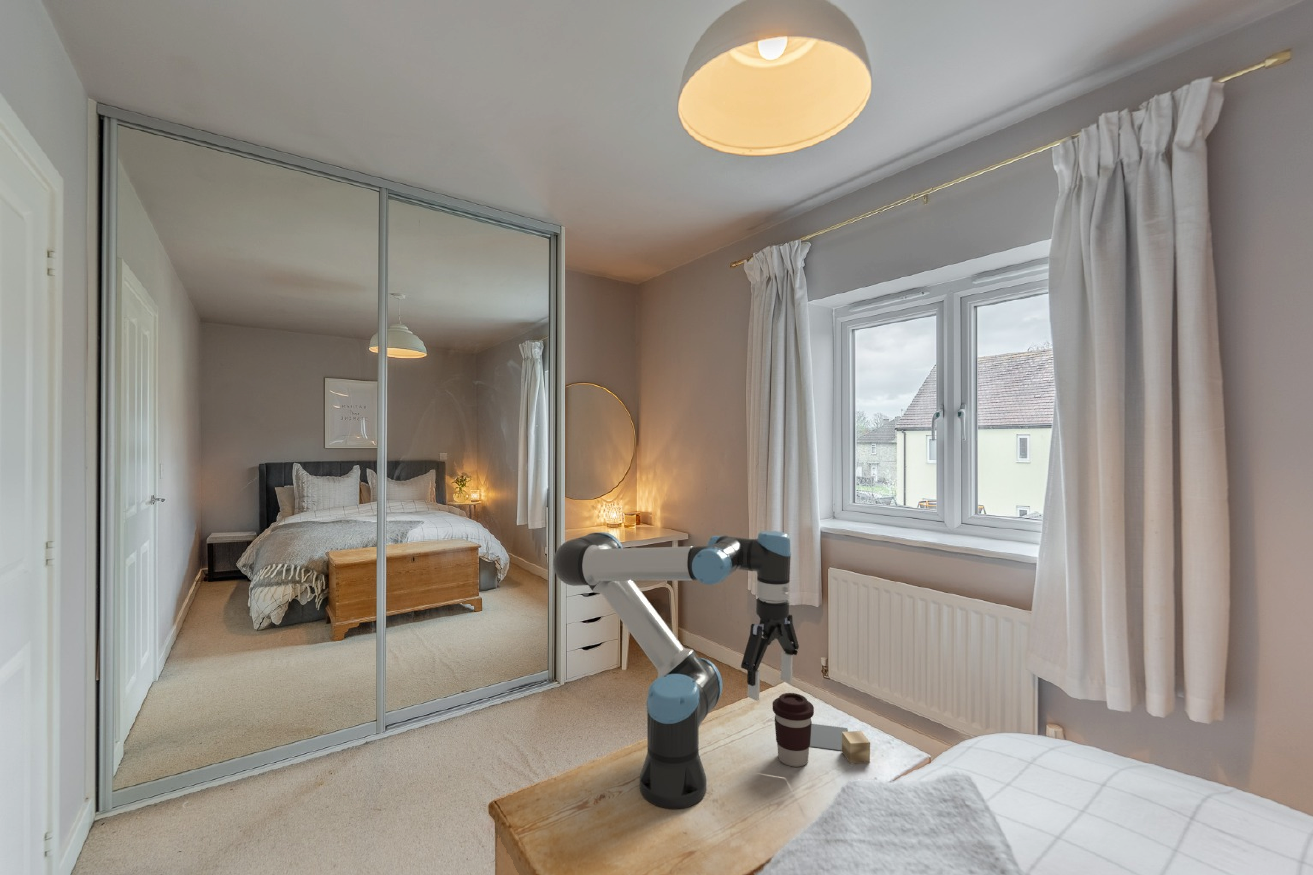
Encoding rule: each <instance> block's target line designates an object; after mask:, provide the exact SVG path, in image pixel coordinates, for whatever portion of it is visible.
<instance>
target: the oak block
mask: <svg viewBox="0 0 1313 875" xmlns="http://www.w3.org/2000/svg"><path fill="white" fill-rule="evenodd" d="M841 753H842V754H843V755H844V757H845V759H846V760H847V761H848V763H849V764H862V763H865V764H866V763H871V741H870V740H869V739H868V738H867V737H866V735H865V734H864V732H863V731H862V730H855V731H853V730H852V731H850V730H849V731H848V732H842V751H841Z"/></svg>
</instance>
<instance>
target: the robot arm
mask: <svg viewBox="0 0 1313 875" xmlns="http://www.w3.org/2000/svg"><path fill="white" fill-rule="evenodd" d="M791 555H792V552H791V537H790V536H789V535H788V534H787V533H786V532H782V531H776V530H773V531H772V530H771V531H770V530H764V531H760V532H759V533H758V534H757V538H746V537H738V536H737V537H736V536H728V535H726V534H725V535H713V536H711V537H710V538H709V540H708V542H707V545H701V546H665V547H664V546H663V547H659V546H658V547H634V548H633V547H630V548H629V547H627V548H624V547H623V545H622V543H621V542H620V540H619V539H618V538H617V537H616V536H614V535H613V534H611V533H609V532H603V531H600V532H599V531H598V532H597V531H596V532H591V533H588V534H586V535H584V536H580V537H576V538H573V539H569V540H567V541H565V542H563V543H562V544H561V545H559V547H558V548H557V550H556V551H555V553H554V556H553V560H552V561H553V562H552V563H553V564H552V566H553V571H554V573H555V575H556V577H557V578H558V579H559V581H561V582H562V583H564V584H566V585H568V586H573V587H575V586H576V587H577V586H578V587H581V586H582V587H583V586H588V587H589V588H590V590H591V591H592V592H593V593H595V594H601V595H602V596H603V598H604V599H605V600H606V602H607V604H609V606H610V607H611V609H612V610H613V611H614V613H615V614H616V615H617V617H618V618H619V619H620V621H621V622H622V623H623V625H624V626H625V627H626V629H627V631H628V632H629V633H630V634H631V636H632V637H633V638H634V640H635V641H636V643H637V644H638V645H639V646H640V648H641V649H642V651H643V653H645V655H646V656H647V658H648V659H649V660H650V662H651V663H652V664H653V666H654V667H655V668H656V670H657V678H656V679H655V680H653V681H652V683H651V684H650V686H649V688H648V691H647V698H646V715H647V716H646V718H647V721H646V723H647V733H646V736H647V741H646V743H647V747H646V748H647V751H646V756H645V760H644V762H643V766H642V769H641V771H640V775H639V792H640V794H641V796H642V797H643V798H644V800H646V801H647V802H649V803H651V804H653V805H655V806H657V807H660V808H665V809H682V808H683V809H684V808H688V807H691V806H693V805H695V804H697V803H699V802H701V800H702V799H703V798H704V797H705V796H706V793H707V776H706V772H705V768H704V767H703V763H702V760H701V756H700V753H699V744H700V743H699V740H700V739H699V736H700V735H699V732H700V730H699V729H700V726H701V725H702V723H703V721H705V719H706V717H707V715H708V714H709V713H710V712H711V711H712V710H713V709H714V708H715V707H716V706H717V704H718V702H719V700H720V697H721V695H722V692H723V680H722V679H723V678H722V676H721V673H720V671H719V669H718V667H717V666H716V665H715V664H714V663H713V662H711V661H710V660H708V659H705V658H702V657H699V655H698V654H697V652H695V650H694V649H692V648H687V647H685V646H684V645H682V643H681V642H680V641H679V639H678V638H677V636H676V635H675V634H674V632H673V631H672V630H671V629H670V627H669V626H668V625H667V623H666V622H665V621H664V620H663V618H662V617H661V615H660V614H659V613H658V611H657V610H656V609H655V608H654V606H653V605H652V603H651V602H650V601H649V600H648V599H647V597H646V596H645V594H644V593H643V592H642V590H641V589H640V587H638V584H636V583H635V581H636V582H639V581H640V582H641V581H642V582H643V581H644V582H646V581H647V582H648V581H651V582H652V581H653V582H654V581H655V582H656V581H658V582H659V581H661V582H662V581H663V582H664V581H667V582H669V581H678V582H679V581H699V582H700V583H702V584H704V585H709V586H710V585H711V586H712V585H716V584H718V583H721V582H723V581H724V580H726V579H727V578H728V577H729V576H730V575H731V574H733V573H734V572H735V571H738V570H740V571H749V572H756V594H755V595H756V597H757V599H756V601H755V602H756V604H755V605H756V607H755V613H756V615H757V616H758V617H759V619H760V620H759V623H758V624H755V623H752V624H751V625H750V631H749V636H748V641H747V643H746V648H745V650H744V653H743V657H742V659H741V660H742V661H741V665H740V668H741V669H744V670H745V671H747V675H746V677H747V680H746V684H747V698H749V699H752V700H754V701H760V685H761V684H760V680H761V678H760V677H761V671H760V670H759V667H760V664H761V662H762V660H763V658H764V655H765V653H766V650H767V648H768V646H770V645H771V644H772V642H773V641H775V640H777V641H778V643H779V644H780V647H781V648H782V650H783V651H782V652H781V653H780V654H781V656H780V657H781V658H780V659H781V660H780V680H781V681H784V682H785V683H786V682H787V683H790V684H791V683H793V668H794V666H793V663H794V662H793V660H794V656H797V655H798V650H799V648H800V645H799V642H798V638H797V634H796V631H795V627H794V626H795V625H794V623H793V622H794V621H793V620H794V619H793V614H790V601H789V599H790V592H791V589H790V579H791V577H790V576H791V557H792V556H791Z"/></svg>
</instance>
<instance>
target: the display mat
mask: <svg viewBox="0 0 1313 875" xmlns="http://www.w3.org/2000/svg"><path fill="white" fill-rule="evenodd" d="M842 732H849V730H848V727H840V726H832V725H828V724H827V725H825V724H818V723H812V725H811V740H810V746H809V748H819V749H824V750H831V751H832V750H833V751H838V752H842Z"/></svg>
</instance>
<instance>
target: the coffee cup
mask: <svg viewBox="0 0 1313 875" xmlns="http://www.w3.org/2000/svg"><path fill="white" fill-rule="evenodd" d="M772 711H773V713H774V714H775V715H774V726H775V727H774V729H775V741H776V746H777V757H778V759H779V761H780V762H781V763H782V764H784V765H786V766H790V767H795V768H796V767H797V768H798V767H804V766H805V765H807V763H808V762H809V754H810V747H809V746H810V740H811V725H812V724H813V722H812V718H813V716H814V712H815V707H814V704H812V703H811V702H810V701H809V700H808V699H807V698H806V697H805V696H804V695H802V694H799V693H794V692H785V693H783V694H781V695H779V697H777V698H775V699H774V700H773V701H772Z"/></svg>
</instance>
